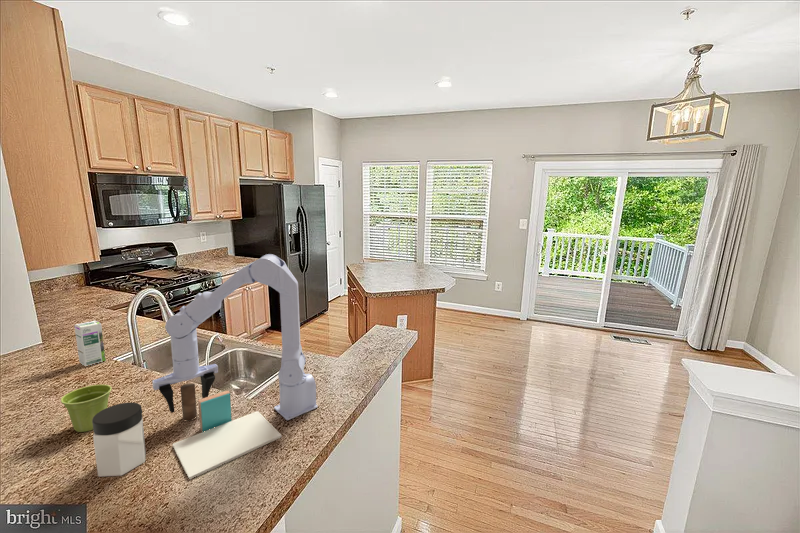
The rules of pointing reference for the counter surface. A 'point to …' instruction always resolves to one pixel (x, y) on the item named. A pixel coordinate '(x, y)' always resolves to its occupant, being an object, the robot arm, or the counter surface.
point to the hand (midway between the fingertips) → (188, 405)
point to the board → (224, 443)
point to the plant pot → (86, 405)
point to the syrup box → (90, 343)
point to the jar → (119, 439)
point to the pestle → (188, 401)
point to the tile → (214, 410)
